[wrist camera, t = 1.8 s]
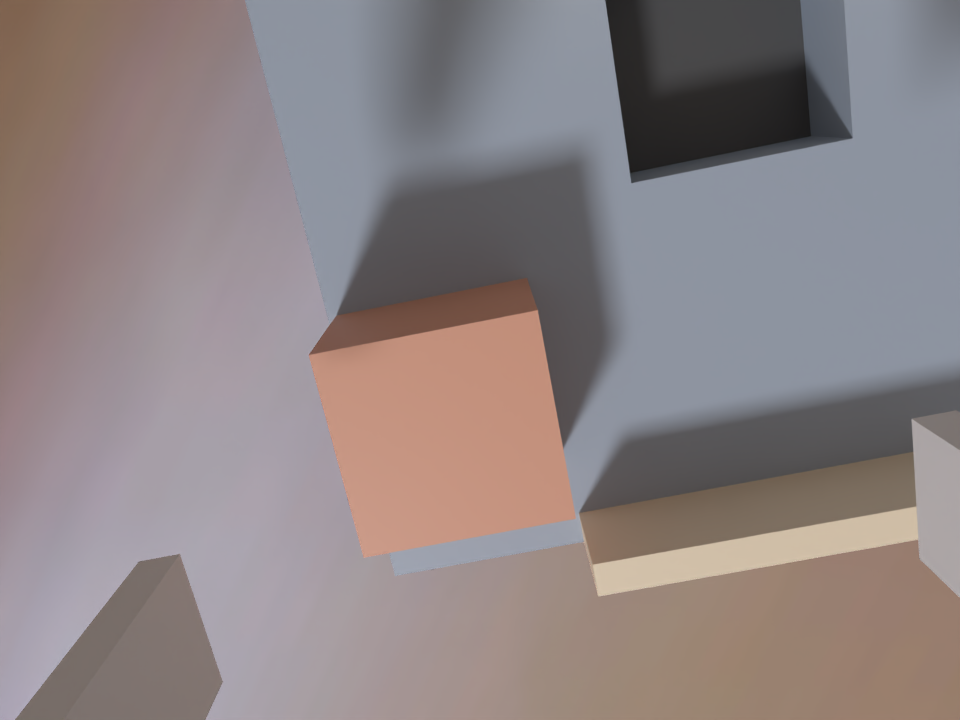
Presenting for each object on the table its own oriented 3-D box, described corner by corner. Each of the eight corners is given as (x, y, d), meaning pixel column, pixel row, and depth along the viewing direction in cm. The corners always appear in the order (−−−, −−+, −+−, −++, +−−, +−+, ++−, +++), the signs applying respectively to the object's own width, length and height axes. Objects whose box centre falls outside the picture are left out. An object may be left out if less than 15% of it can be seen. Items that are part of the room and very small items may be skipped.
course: (263, -24, 23) (194, -72, 17) (1128, -215, 22) (1361, -333, 16) (403, 529, 28) (385, 634, 22) (1111, 398, 27) (1284, 474, 21)
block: (336, 315, 23) (308, 354, 19) (527, 277, 23) (537, 310, 19) (381, 488, 24) (363, 557, 21) (559, 455, 24) (576, 518, 20)
